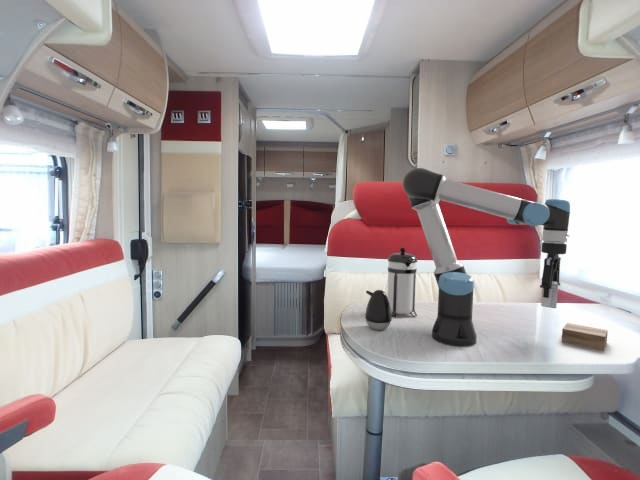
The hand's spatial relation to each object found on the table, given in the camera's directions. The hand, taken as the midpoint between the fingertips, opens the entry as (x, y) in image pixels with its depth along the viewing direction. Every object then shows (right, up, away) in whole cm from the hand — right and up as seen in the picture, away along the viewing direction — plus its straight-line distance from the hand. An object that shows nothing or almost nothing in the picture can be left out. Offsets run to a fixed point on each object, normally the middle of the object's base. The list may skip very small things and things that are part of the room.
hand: (548, 304), depth 129 cm
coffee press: (-48, -10, +32) cm, 58 cm away
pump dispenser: (-61, -11, +10) cm, 63 cm away
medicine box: (0, -1, 0) cm, 1 cm away
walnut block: (+11, -14, -2) cm, 18 cm away
